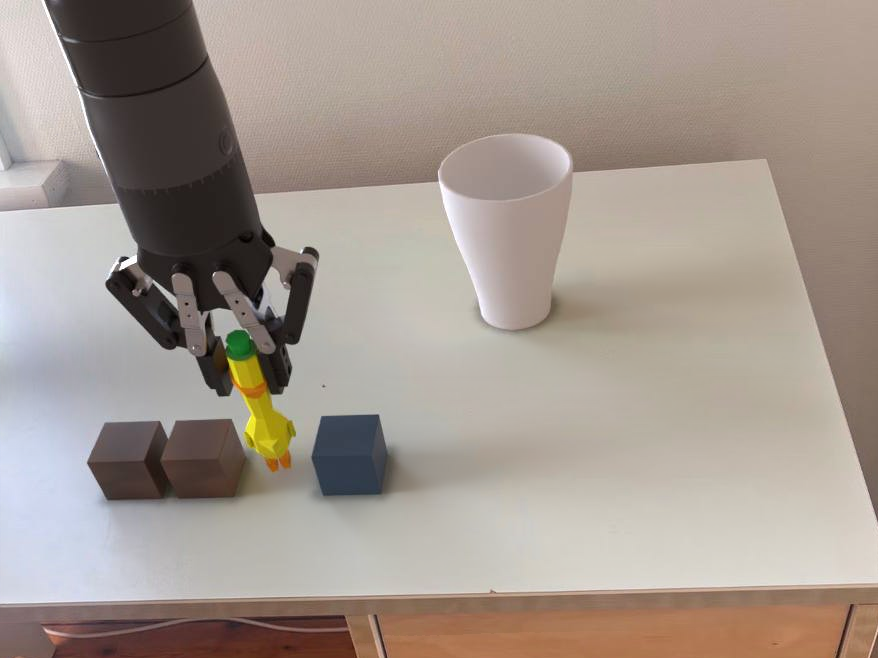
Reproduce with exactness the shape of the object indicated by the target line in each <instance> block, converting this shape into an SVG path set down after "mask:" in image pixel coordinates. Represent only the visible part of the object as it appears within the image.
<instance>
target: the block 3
mask: <svg viewBox="0 0 878 658" xmlns="http://www.w3.org/2000/svg"><path fill="white" fill-rule="evenodd" d="M388 455H389V453H388V448H387V443H386V439H385V435H384V430H383V426H382V422H381V418H380V414H379V413H375V414H373V413H371V414H342V415H341V414H340V415H321V416H320V418H319V423H318V426H317V431H316V434H315V440H314V443H313V447H312V451H311V456H310V459H311V462H312V466H313V468H314V471H315V474H316V478H317V481H318V485H319V487H320V491H321V494H322V496H323V497H325V496H326V497H328V496H333V497H334V496H375V495H377V496H378V495H379V496H380V495H381V494H382V491H383V484H384V478H385V473H386V468H387V467H386V466H387V460H388Z"/></svg>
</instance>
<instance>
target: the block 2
mask: <svg viewBox="0 0 878 658" xmlns="http://www.w3.org/2000/svg"><path fill="white" fill-rule="evenodd" d="M246 460H247V455H246V452H245V450H244V447H243V444H242V442H241V438H240V437H239V433H238V432H237V429H236V425H235V424H234V421H233V419H232V418H209V419H208V418H207V419H205V418H204V419H178V420H177V419H176V420H175V422H174V424H173V427H172V429H171V431H170V434H169V437H168V442H167V445H166V447H165V450H164V452H163V455H162V458H161V460H160V462H161V464H162V466H163V468H164V470H165V472H166V474H167V476H168V478H169V482H170V485H171V487H172V489H173V491H174V494H175V496H176V497H177V499H179V500H182V499H183V500H187V499H229V498H235V496H236V493H237V489H238V486H239V482H240V480H241V476H242V474H243V470H244V466H245V463H246Z"/></svg>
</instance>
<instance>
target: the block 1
mask: <svg viewBox="0 0 878 658" xmlns="http://www.w3.org/2000/svg"><path fill="white" fill-rule="evenodd" d="M168 439H169V437H168V435H167V433H166V430H165V428H164V426H163V424H162V422H161V421H160V420H138V421H134V420H133V421H106V422H104V423H103V425H102V427H101V430H100V432H99V434H98V437H97V438H96V441H95V443H94V445H93V448H92V450H91V452H90V454H89V456H88V458H87V461H86V465H87V466H88V468H89V470H90V472H91V473H92V476H93V478H94V479H95V481H96V483H97V484H98V486H99V488H100V490H101V491H102V493H103V495H104V497H105V499H106V500H107V501H134V500H136V501H139V500H163V499H164V496H165V493H166V491H167V488H168V485H169V482H170V481H169V478H168V476H167V474H166V472H165V470H164V468H163V466H162V464H161V462H160V460H161V458H162V455H163V452H164V450H165V447H166V445H167V442H168Z"/></svg>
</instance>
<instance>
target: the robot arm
mask: <svg viewBox="0 0 878 658" xmlns="http://www.w3.org/2000/svg"><path fill="white" fill-rule="evenodd" d="M41 2H42V4H43V6H44V9H45V13H46V14H47V17H48V19H49V22H50V24H51V27H52V29H53V31H54V34H55V36H56V38H57V41H58V44H59V46H60V49H61V52H62V53H63V57H64V59H65V60H66V63H67V66H68V69H69V71H70V74H71V76H72V78H73V81H74V83H75V86H76V89H77V92H78V95H79V99H80V102H81V107H82V110H83V114H84V118H85V121H86V125H87V128H88V130H89V133H90V137H91V139H92V141H93V145H94V149H95V153H96V156H97V158H98V159H99V161H100V162H101V163H102V167H103V168H104V171H105V173H106V176H107V178H108V179H107V180H108V181H109V184H110V187H111V188H112V191H113V193H114V196H115V198H116V200H117V203H118V206H119V209H120V210H121V211H120V212H121V213H122V215H123V218H124V220H125V223H126V226H127V228H128V230H129V233H130V235H131V237H132V239H133V241H134V242H135V243H136V244H137V250H136V254H135V256H132V257H129V256H127V255H120V256H119V257H117V259H116V261H115V263H114V264H113V266H112V268H111V269H110V271H109V273H108V276H107V278H106V280H105V282H104V283H105V284H104V286H105V288H106V289H107V291H108V292H109V293H110V294H111V295H112V296H113V297H114V298H115V299H116V300H117V302H118V303H120V304H121V306H122V307H123V308H124V309H125V310H126V311H127V312H128V313H129V314H130V316H132V318H134V319H135V321H137V323H139V325H140V326H141V327H142V328H143V329H144V330H145V331H146V332H147V334H149V335H150V336H151V337H152V339H153V340H154V341H156V343H157V344H158V345H159V346H160V347H161V348H162V349H164V350H167V351H173V350H176V349H177V347H179V348H183V349H186V350H188V352H189V354H191V355H192V356H194V357H195V359H196V362H197V365H198V367H199V370H200V372H201V375H202V377H203V381H204V383H205V385H206V386H207V387H208V388H209V389H210V390H215V393H216V395H217V397H219V398H223V397H231V394H232V391H233V389H234V384H233V382H232V381H231V377H230V372H229V362H228V359H227V356H226V353H225V349H226V346H225V345H224V342H223V339H222V337H221V335H216V334H215V330H216V329H215V321H214V314H213V310H217V309H223V310H228V311H231V312H232V314H233V315H234V317H235V318H236V321H237V322H238V324H239V326H240V327H241V328H242V330H247V333H248V334H249V335H250V338H251V339H252V340H253V341H254V343H255V344H256V346H257V348H258V349H259V352H258V357H259V360H260V363H261V366H262V369H263V372H264V375H265V378H266V381H267V384H268V387H269V391H270V394H271V396H276V395H277V396H279V395H280V396H282V395H283V393H284V391H285V388H288V387H289V384H290V380H291V376H292V373H293V364H292V361H291V358H290V355H289V352H288V349H287V345H289V346H295V345H298V344H299V343H300V340H301V337H302V333H303V330H304V327H305V324H306V323H305V322H306V319H307V315H308V311H309V306H310V302H311V298H312V293H313V288H314V283H315V279H316V274H317V271H318V266H319V261H320V253H319V251H318V250H317V249H316V248H315V247H312V246H304V247H303V248H301V249H300V252H297V251H294V250H290V249H287V248H284V247H280V246H277V244H276V241H275V239H274V237H273V236H272V235H271V234H270V233H269V232H268V231H267V230H266V228H265V226H264V224H263V223H262V221H261V217H260V213H259V208H258V205H257V201H256V198H255V193H254V190H253V187H252V184H251V179H250V176H249V173H248V169H247V166H246V162H245V159H244V156H243V152H242V149H241V145H240V141H239V139H238V135H237V132H236V128H235V125H234V121H233V118H232V115H231V111H230V107H229V104H228V100H227V98H226V95H225V91H224V89H223V87H222V84H221V82H220V80H219V78H218V75H217V73H216V70H215V68H214V66H213V63H212V61H211V58H210V55H209V53H208V49H207V45H206V41H205V38H204V35H203V31H202V27H201V25H200V21H199V18H198V14H197V11H196V8H195V7H196V6H195V3H194V0H41ZM271 268H273V269H275V270H276V271H277V272H278V274H279V281H280V283H281V285H283V288H284V289H285V290H286V291H289V293H288V298H287V299H288V300H287V304H286V309H285V314H283V315H280V316H279V315H278V313H277V311H276V309H275V307H274V305H273V303H272V300H271V293H270V290H269V288H268V287H267V285H266V283H265V279H266V277H267V275H268V273H269V271H270V270H271ZM153 281H154V282H155V283H156V284H158V285H159V286H161V287H162V288H163V289H164V290H165V291H167V292H168V293H169V294H170V295H172V296H174V298H175V299H176V304H177V307H176V306H175V305H174V304H173V303H172V302H171V301H170V300H169V298H167V296H166V295H165V294H164V293H163V292H162V291H161V290H160V288H159V287H158V286H157V285H156V284H155V283H154V282H153Z"/></svg>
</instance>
